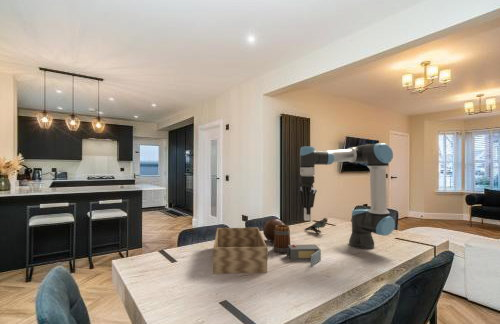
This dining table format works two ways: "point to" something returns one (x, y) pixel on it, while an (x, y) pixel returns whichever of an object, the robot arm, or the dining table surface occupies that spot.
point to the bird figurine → (318, 225)
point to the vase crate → (239, 251)
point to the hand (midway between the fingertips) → (306, 220)
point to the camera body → (301, 251)
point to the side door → (316, 257)
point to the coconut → (271, 229)
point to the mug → (281, 238)
